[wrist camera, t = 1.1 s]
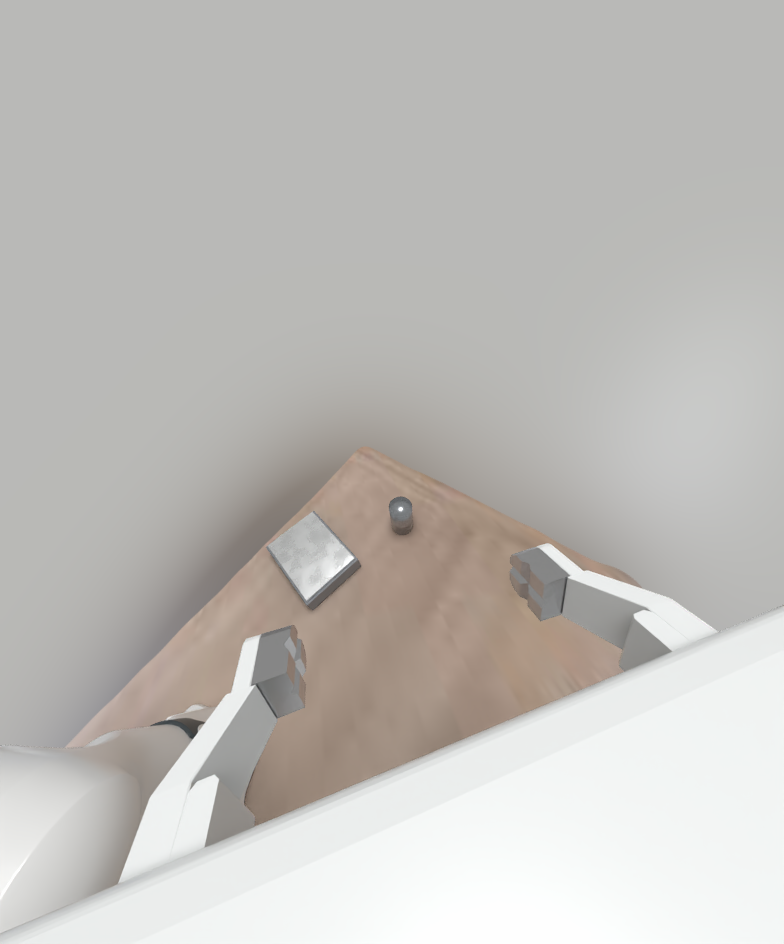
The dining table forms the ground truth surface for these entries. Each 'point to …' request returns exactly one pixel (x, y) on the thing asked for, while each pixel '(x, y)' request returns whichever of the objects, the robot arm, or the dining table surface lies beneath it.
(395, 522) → the cylinder
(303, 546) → the kitchen scale
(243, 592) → the dining table surface
